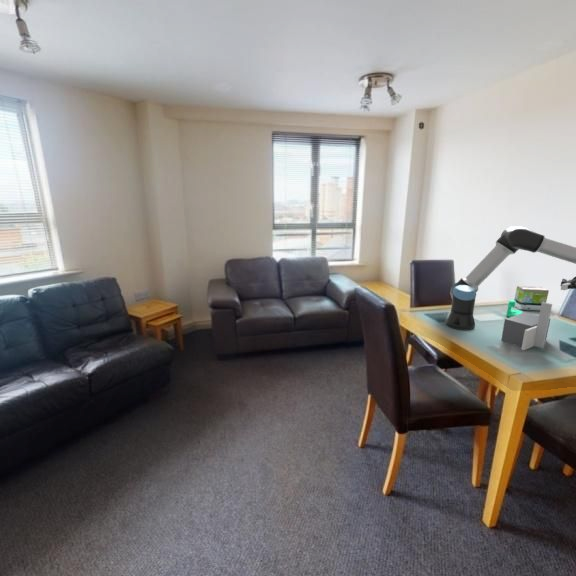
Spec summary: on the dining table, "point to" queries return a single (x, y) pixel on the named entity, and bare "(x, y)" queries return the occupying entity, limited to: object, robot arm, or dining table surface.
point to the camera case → (519, 327)
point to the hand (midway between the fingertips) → (562, 287)
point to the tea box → (530, 297)
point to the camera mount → (512, 312)
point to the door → (538, 329)
